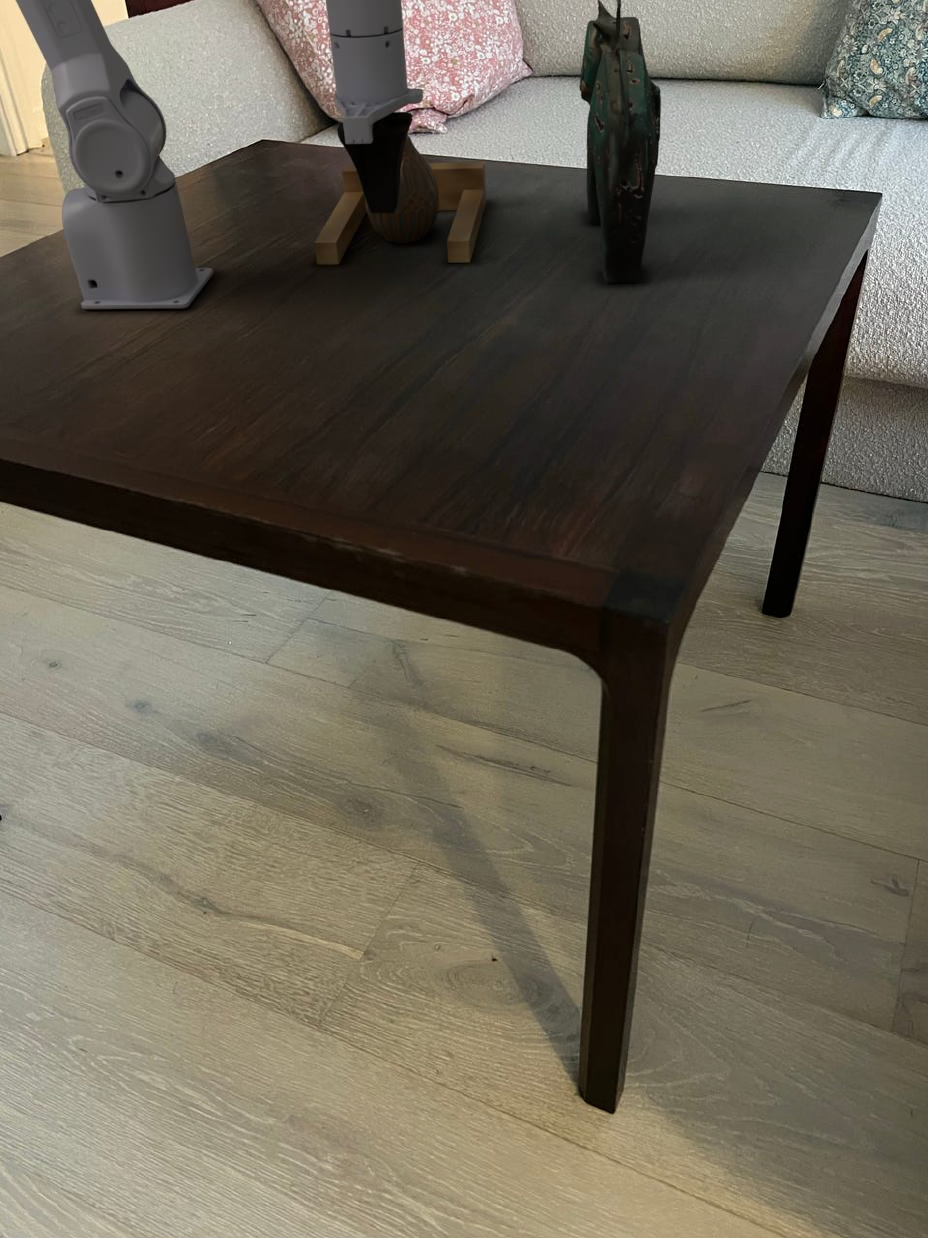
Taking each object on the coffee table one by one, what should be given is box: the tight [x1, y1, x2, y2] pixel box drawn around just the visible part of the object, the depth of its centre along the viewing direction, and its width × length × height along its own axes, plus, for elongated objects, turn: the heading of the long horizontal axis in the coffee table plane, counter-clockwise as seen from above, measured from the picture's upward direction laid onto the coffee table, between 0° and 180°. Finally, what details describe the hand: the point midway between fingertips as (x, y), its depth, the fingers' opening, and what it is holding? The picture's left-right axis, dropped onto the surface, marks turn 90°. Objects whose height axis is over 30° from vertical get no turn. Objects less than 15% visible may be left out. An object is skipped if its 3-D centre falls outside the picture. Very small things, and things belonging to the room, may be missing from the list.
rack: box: [313, 161, 487, 266], centre depth 96 cm, size 14×16×4 cm
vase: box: [364, 134, 439, 244], centre depth 94 cm, size 7×7×9 cm
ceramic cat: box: [578, 0, 662, 284], centre depth 86 cm, size 20×6×20 cm, turn 178°
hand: (383, 210), depth 87 cm, fingers closed
